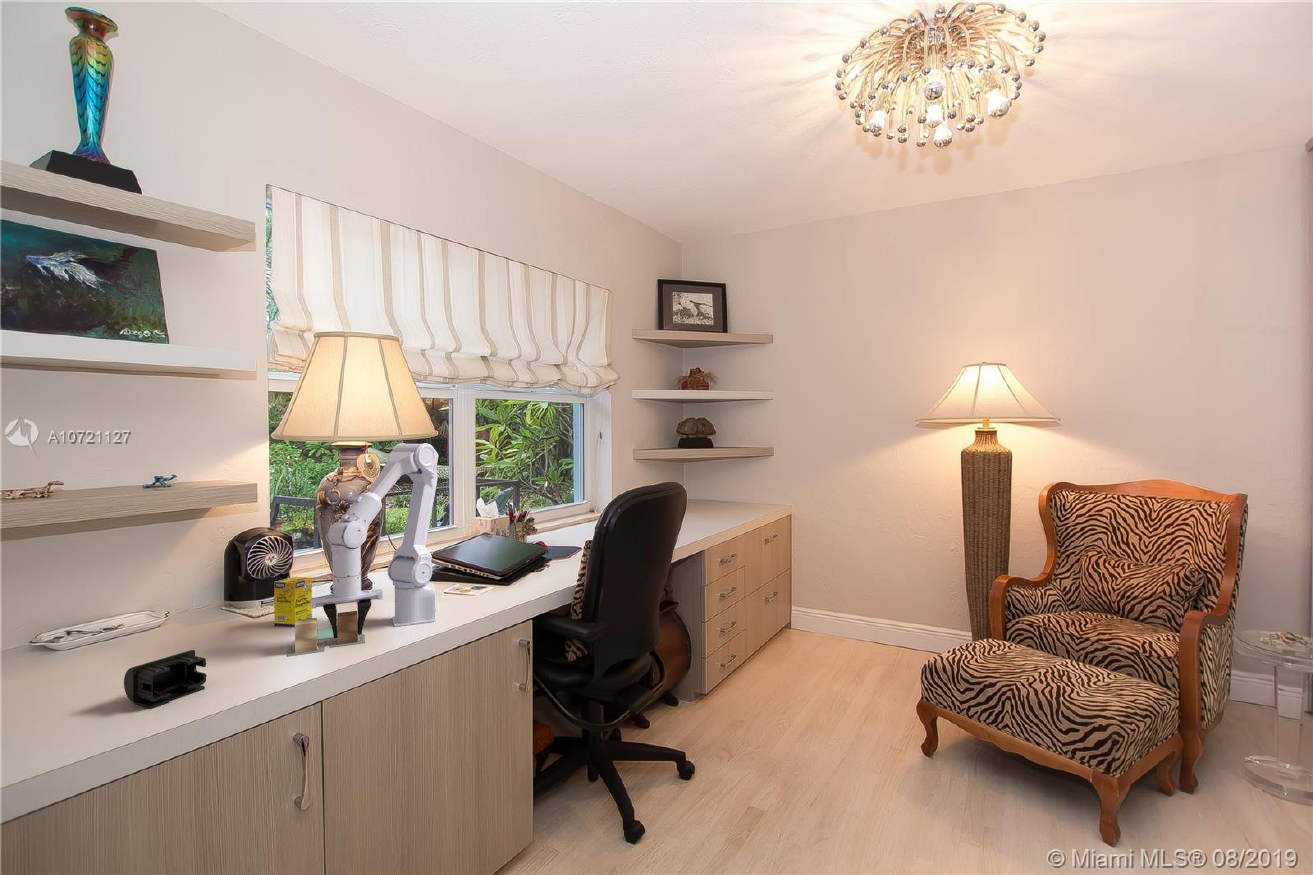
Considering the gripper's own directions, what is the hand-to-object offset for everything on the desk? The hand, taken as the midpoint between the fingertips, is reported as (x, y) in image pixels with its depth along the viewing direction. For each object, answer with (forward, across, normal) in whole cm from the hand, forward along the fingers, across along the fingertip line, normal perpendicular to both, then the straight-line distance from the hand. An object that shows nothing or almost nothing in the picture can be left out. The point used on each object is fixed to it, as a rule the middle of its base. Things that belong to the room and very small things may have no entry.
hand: (347, 635), depth 143 cm
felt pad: (+1, +5, -8) cm, 10 cm away
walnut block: (+1, 0, 0) cm, 1 cm away
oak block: (+1, +8, +1) cm, 8 cm away
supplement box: (+2, +10, -22) cm, 24 cm away
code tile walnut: (+1, 0, 0) cm, 1 cm away
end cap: (+2, +31, +15) cm, 34 cm away
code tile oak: (+1, +8, +1) cm, 8 cm away
